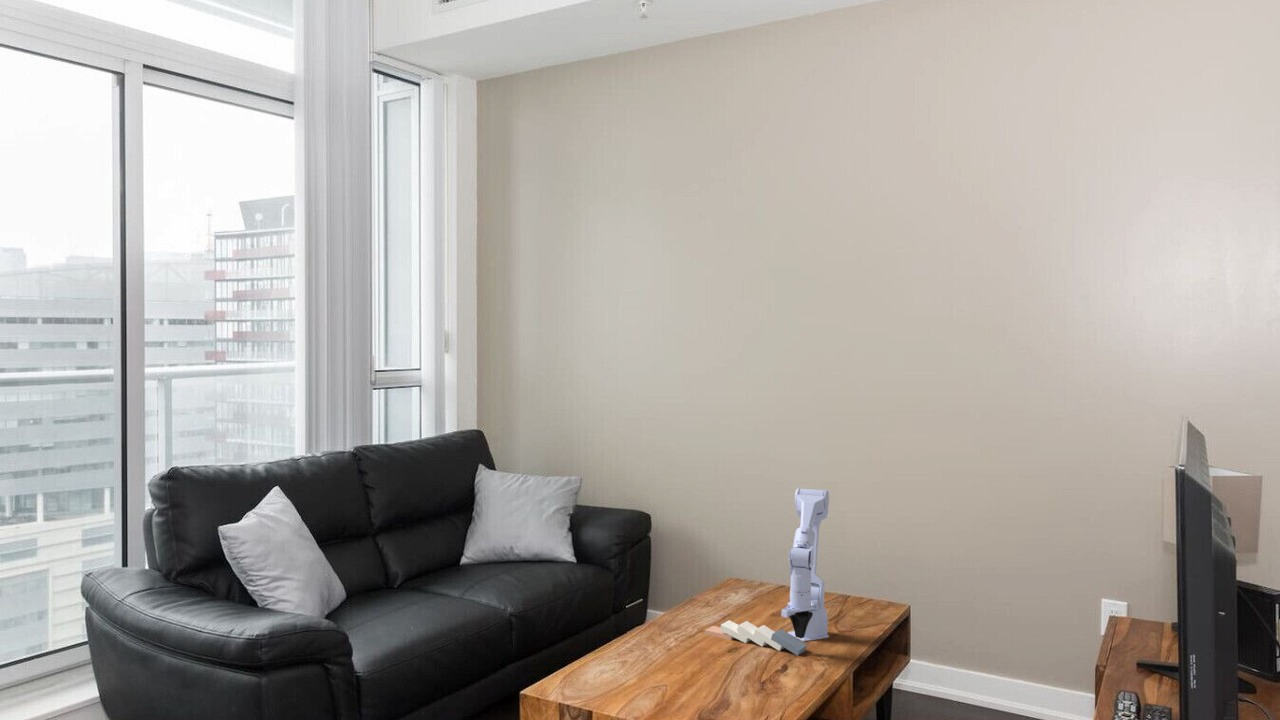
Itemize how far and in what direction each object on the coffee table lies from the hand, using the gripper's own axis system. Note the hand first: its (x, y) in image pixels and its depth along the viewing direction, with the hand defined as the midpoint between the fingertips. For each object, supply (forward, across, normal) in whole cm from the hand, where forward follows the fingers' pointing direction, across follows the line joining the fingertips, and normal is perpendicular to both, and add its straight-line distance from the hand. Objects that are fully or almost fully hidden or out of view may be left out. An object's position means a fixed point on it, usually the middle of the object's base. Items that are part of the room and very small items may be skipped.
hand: (799, 637), depth 265 cm
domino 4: (+4, +1, -5) cm, 6 cm away
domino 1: (+4, +5, -20) cm, 21 cm away
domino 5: (+4, 0, +1) cm, 4 cm away
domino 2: (+3, +4, -15) cm, 16 cm away
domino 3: (+4, +2, -10) cm, 11 cm away
